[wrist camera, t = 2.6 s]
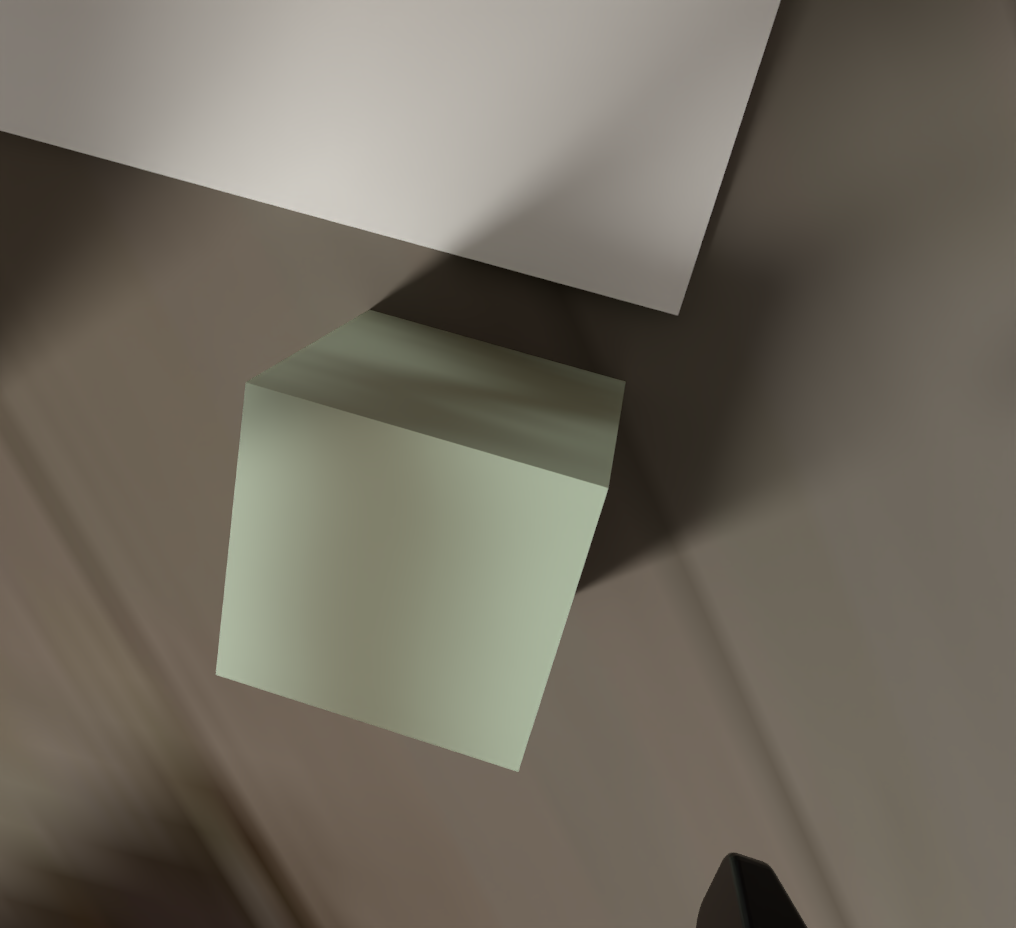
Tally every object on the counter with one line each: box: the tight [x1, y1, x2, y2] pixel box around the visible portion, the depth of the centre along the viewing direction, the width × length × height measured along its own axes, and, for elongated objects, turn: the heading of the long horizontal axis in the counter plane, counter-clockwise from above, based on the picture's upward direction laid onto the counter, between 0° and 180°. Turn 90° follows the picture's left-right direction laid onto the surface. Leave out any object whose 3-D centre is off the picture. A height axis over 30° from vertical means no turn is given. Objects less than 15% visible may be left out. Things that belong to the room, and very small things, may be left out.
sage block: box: [216, 310, 626, 772], centre depth 14 cm, size 5×5×5 cm
